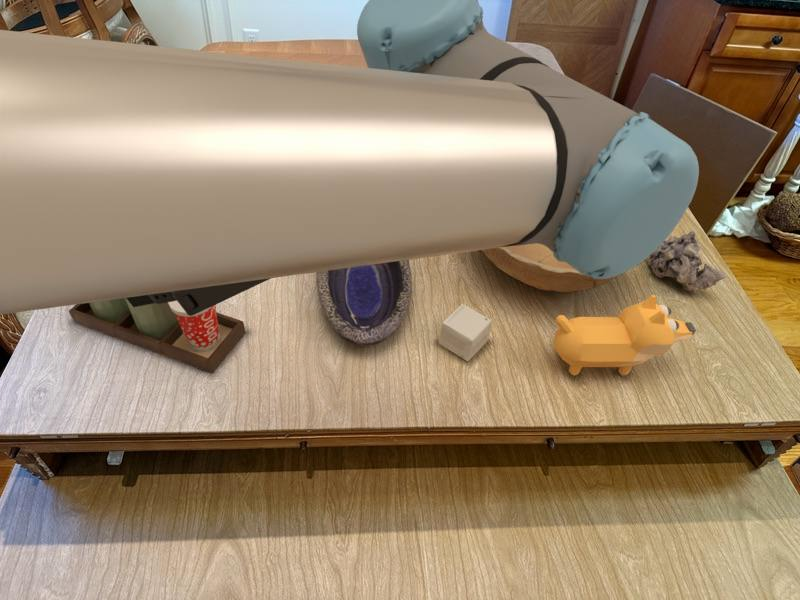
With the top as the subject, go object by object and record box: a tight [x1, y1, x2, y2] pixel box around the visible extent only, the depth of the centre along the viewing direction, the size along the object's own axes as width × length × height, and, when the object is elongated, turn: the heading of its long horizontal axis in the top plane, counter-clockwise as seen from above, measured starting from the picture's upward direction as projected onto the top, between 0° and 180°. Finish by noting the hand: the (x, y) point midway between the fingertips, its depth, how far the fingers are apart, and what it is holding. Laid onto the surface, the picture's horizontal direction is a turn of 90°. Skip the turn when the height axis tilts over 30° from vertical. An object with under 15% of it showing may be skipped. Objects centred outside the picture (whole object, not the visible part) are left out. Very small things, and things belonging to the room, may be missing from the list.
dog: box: [553, 294, 697, 377], centre depth 77 cm, size 8×20×13 cm, turn 93°
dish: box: [316, 260, 413, 347], centre depth 89 cm, size 16×31×5 cm, turn 3°
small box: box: [438, 303, 493, 362], centre depth 82 cm, size 6×6×5 cm
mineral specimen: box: [647, 230, 727, 292], centre depth 95 cm, size 12×9×10 cm
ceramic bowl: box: [481, 243, 649, 293], centre depth 93 cm, size 30×27×15 cm
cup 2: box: [124, 298, 178, 340], centre depth 77 cm, size 6×6×14 cm
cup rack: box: [68, 303, 247, 374], centre depth 81 cm, size 25×9×2 cm, turn 69°
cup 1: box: [89, 298, 129, 324], centre depth 79 cm, size 6×6×14 cm
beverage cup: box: [168, 301, 220, 352], centre depth 75 cm, size 6×6×14 cm
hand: (160, 248), depth 53 cm, fingers open, 13 cm apart
